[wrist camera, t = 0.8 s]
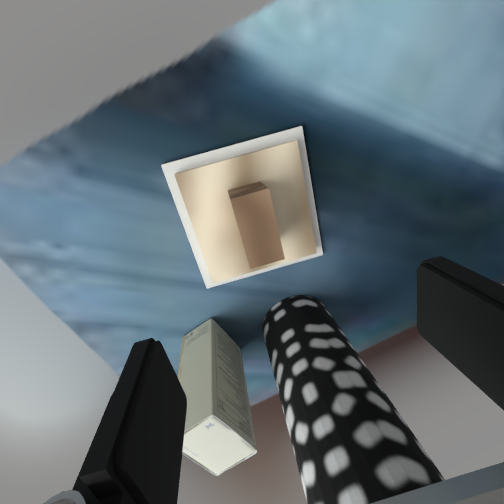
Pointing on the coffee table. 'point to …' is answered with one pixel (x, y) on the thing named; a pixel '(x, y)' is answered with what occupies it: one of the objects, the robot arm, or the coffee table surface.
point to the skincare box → (215, 400)
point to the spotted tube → (339, 412)
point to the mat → (232, 152)
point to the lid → (249, 210)
